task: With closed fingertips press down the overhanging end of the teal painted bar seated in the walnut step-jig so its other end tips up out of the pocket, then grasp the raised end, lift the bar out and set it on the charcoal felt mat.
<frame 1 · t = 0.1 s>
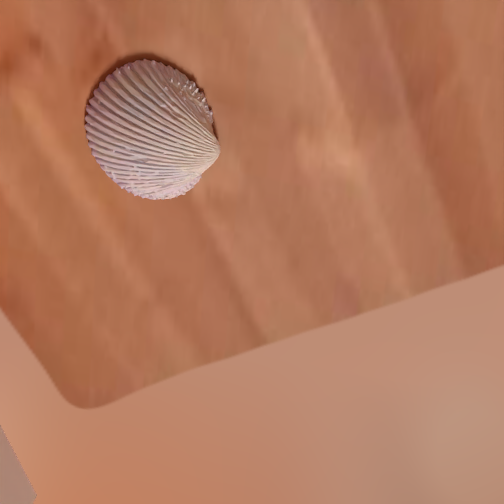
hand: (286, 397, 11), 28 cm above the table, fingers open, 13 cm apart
seashell: (155, 132, 36), on the table
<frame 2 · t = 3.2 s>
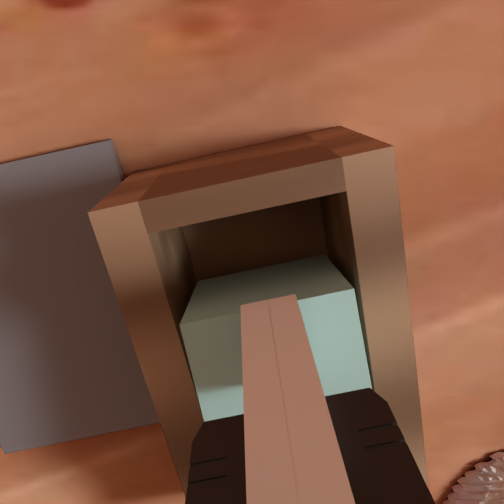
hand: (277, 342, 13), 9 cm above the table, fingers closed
part: (291, 407, 19), point 4 cm above the table, tilted 9°, touching gripper, jig
mat: (55, 309, 22), on the table
jig: (278, 339, 23), on the table
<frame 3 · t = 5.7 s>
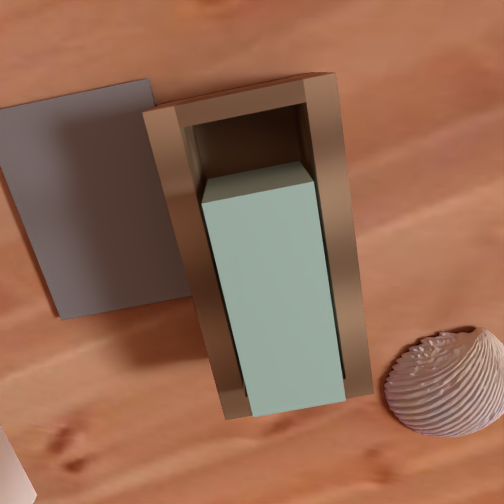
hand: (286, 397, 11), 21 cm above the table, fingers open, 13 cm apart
part: (272, 270, 27), point 4 cm above the table, touching jig
mat: (102, 208, 30), on the table
jig: (266, 236, 31), on the table
seashell: (448, 376, 36), on the table
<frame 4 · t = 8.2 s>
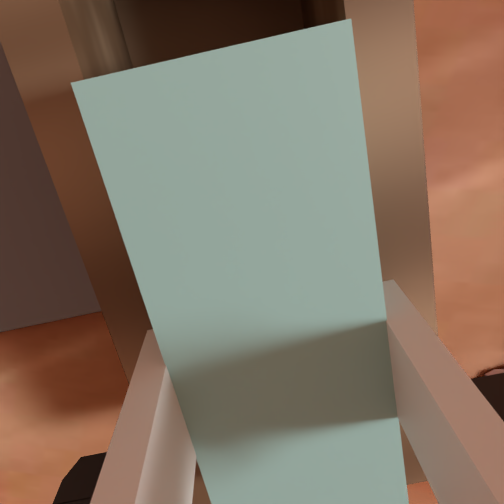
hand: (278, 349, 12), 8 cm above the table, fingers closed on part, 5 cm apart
part: (261, 257, 15), point 4 cm above the table, touching gripper, jig
jig: (252, 203, 19), on the table
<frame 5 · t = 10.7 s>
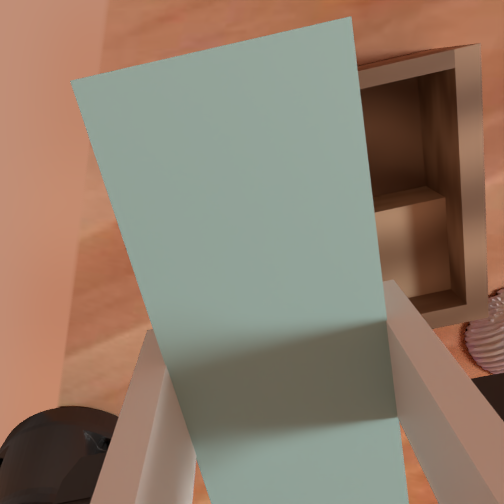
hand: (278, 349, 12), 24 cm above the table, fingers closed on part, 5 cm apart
part: (261, 256, 15), point 21 cm above the table, touching gripper
jig: (383, 191, 36), on the table
when the fingers open (9 cm above the table, at t = 13.2 s): part drops 5 cm, resting on mat.
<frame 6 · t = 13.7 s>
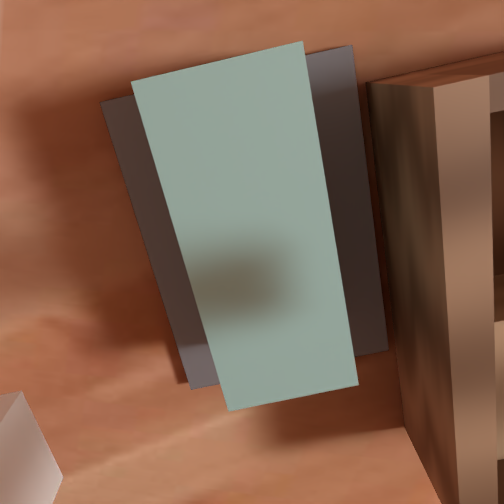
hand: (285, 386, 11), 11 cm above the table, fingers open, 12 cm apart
part: (253, 211, 20), point 1 cm above the table, touching mat
mat: (260, 235, 21), on the table
jig: (482, 269, 22), on the table
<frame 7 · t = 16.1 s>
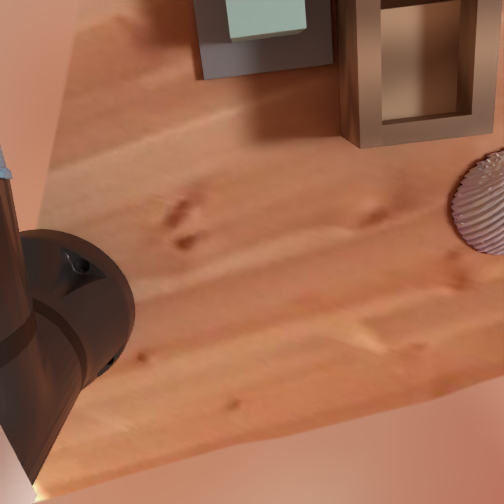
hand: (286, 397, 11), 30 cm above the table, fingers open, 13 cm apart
jig: (395, 13, 35), on the table
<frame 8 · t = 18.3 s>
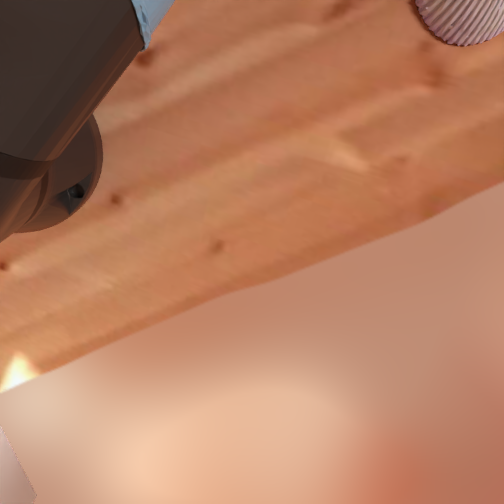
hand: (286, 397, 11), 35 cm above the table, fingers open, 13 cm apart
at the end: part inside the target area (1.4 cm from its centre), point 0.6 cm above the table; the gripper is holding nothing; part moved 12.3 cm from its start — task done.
